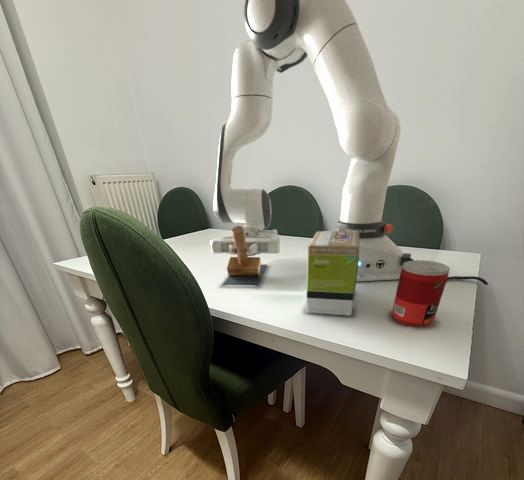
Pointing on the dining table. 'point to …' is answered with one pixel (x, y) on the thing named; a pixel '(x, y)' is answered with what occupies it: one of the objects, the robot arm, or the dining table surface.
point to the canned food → (419, 292)
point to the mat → (245, 279)
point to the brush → (242, 258)
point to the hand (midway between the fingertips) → (240, 251)
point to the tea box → (332, 272)
